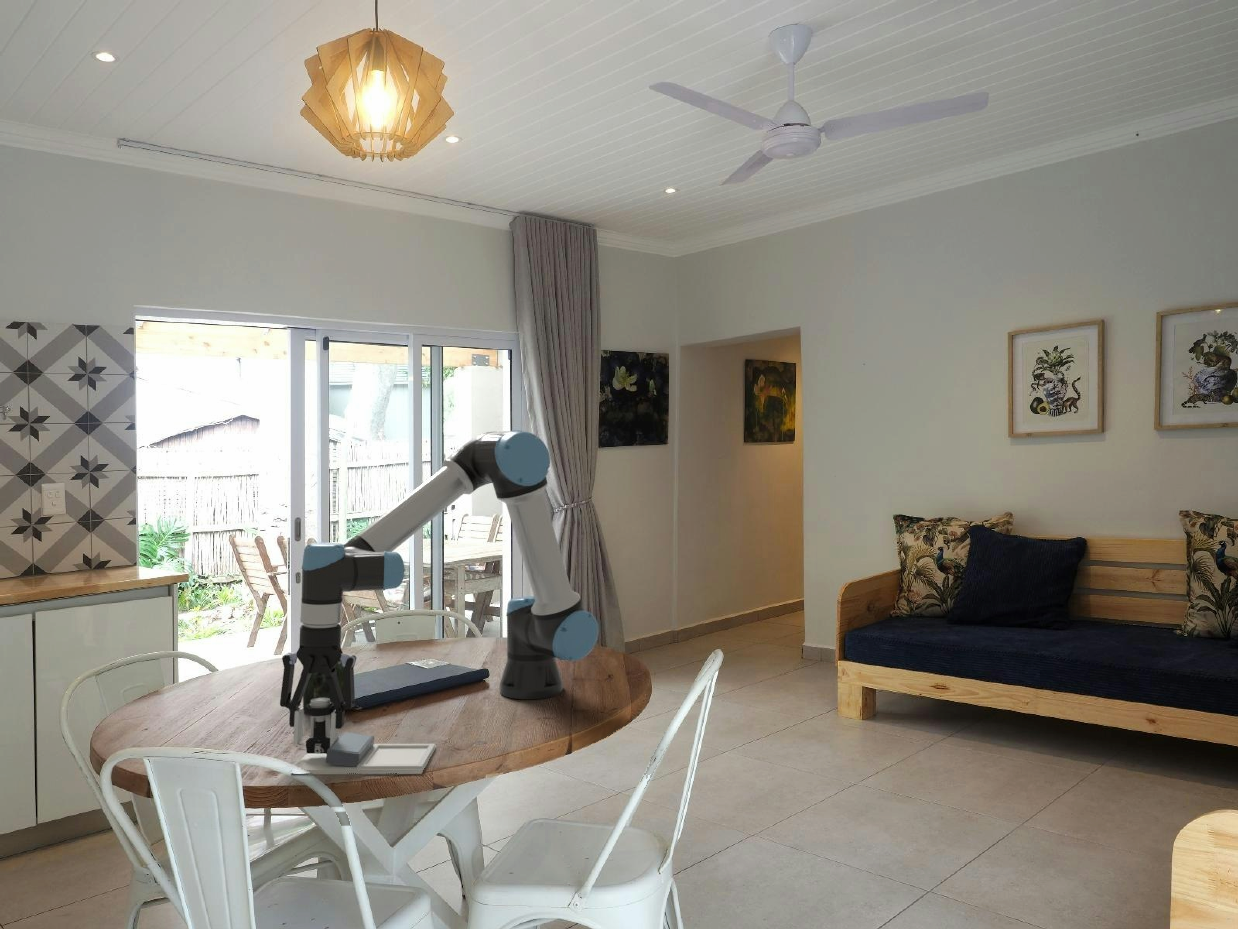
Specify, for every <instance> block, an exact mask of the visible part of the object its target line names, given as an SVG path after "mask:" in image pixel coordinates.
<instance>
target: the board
mask: <svg viewBox="0 0 1238 929" xmlns="http://www.w3.org/2000/svg"><path fill="white" fill-rule="evenodd" d="M436 747H437V745H436V743H374V744H373V747H372V748H371V749H370V750H369V752H368V753H367V754H366V755H365V757H364V758H363V759H362V761H361V762H360V763H359V764H358V766H357V767H351V766H343V765H335V764H327V763H326V756H327V754H326V753H320V754H315V753H307V752H306V754H304V756H303V757H302V758H301V759H300V760H299V761H298V762H297V763H296V764H295V765H297V766H298V767H301V768H303V769H305V770H307V771H309V772H310V773H313V774H312V775H360V774H359V773H365V774H364V775H423V772H424V771H425V769H424V768H426V767H427V765H428V763H429V762H428V761H430V760H431V758H432V755H433V754H434V752H435V750H436ZM430 757H431V758H430ZM429 759H430V760H429ZM423 770H424V771H423ZM347 773H348V774H347ZM349 773H350V774H349ZM351 773H352V774H351ZM353 773H354V774H353ZM355 773H356V774H355ZM357 773H358V774H357ZM366 773H367V774H366ZM386 773H387V774H386ZM388 773H389V774H388ZM390 773H392V774H390ZM393 773H394V774H393ZM395 773H397V774H395Z"/></svg>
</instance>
